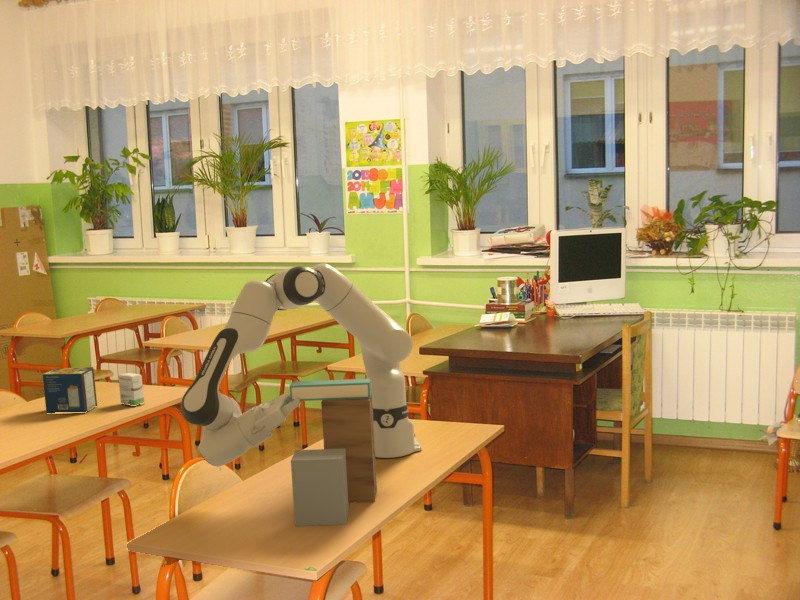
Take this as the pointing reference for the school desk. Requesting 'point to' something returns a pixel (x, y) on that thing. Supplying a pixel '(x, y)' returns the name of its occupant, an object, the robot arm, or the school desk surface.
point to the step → (320, 487)
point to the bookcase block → (353, 443)
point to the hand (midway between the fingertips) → (302, 396)
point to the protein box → (69, 390)
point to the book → (330, 389)
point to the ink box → (131, 388)
